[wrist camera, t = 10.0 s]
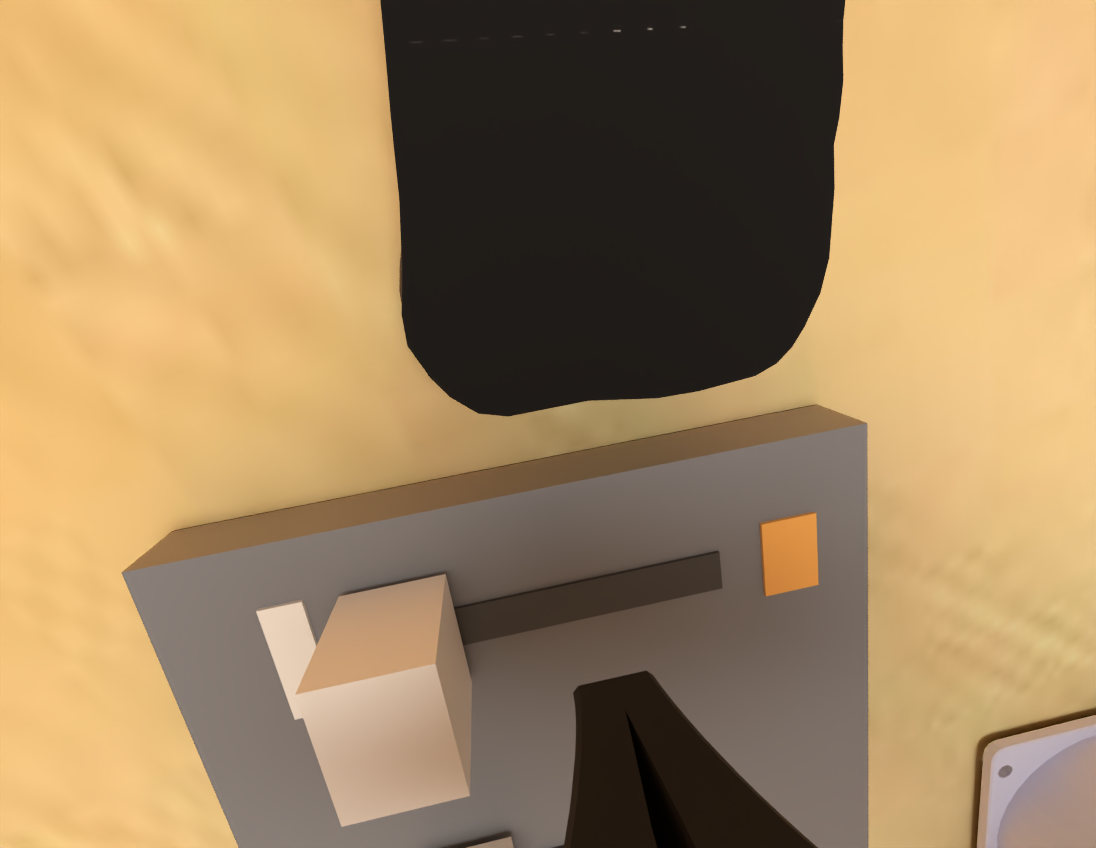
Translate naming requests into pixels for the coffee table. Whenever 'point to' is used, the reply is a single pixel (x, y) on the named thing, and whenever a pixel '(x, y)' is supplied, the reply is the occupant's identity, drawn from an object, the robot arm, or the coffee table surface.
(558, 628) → the grey flat block
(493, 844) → the block
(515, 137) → the black sponge
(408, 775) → the block
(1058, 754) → the robot arm
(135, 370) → the coffee table surface
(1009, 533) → the coffee table surface
